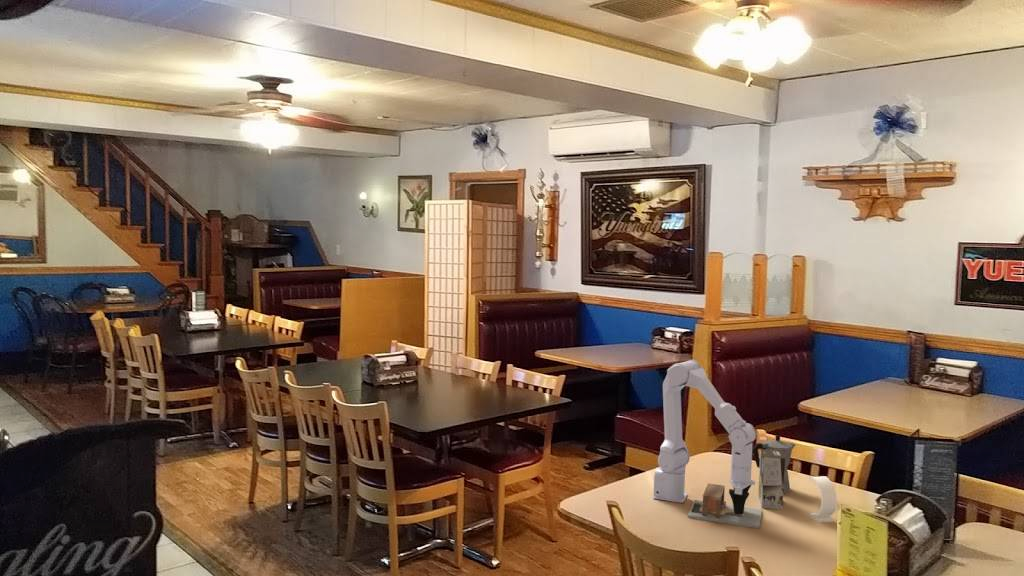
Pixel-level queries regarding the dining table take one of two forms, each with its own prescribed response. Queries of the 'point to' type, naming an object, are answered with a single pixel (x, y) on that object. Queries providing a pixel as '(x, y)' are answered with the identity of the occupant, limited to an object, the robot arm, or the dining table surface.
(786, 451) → the coffeepot
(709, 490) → the bridge
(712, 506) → the block
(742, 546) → the dining table surface
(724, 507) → the sled
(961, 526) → the dining table surface
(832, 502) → the headphone stand
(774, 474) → the coffee box
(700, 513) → the track board
